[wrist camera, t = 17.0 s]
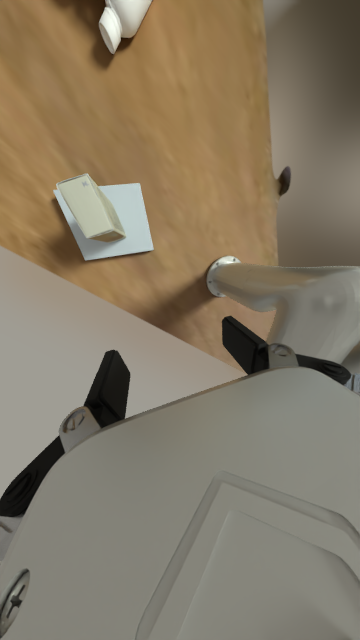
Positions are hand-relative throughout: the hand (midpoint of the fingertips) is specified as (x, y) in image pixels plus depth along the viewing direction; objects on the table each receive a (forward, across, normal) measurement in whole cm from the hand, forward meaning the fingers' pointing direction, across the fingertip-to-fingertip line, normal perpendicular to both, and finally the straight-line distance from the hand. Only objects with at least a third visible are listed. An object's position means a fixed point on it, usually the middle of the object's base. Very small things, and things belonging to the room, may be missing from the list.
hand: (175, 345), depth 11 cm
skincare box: (+28, +6, -14) cm, 32 cm away
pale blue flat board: (+31, +6, -14) cm, 35 cm away
